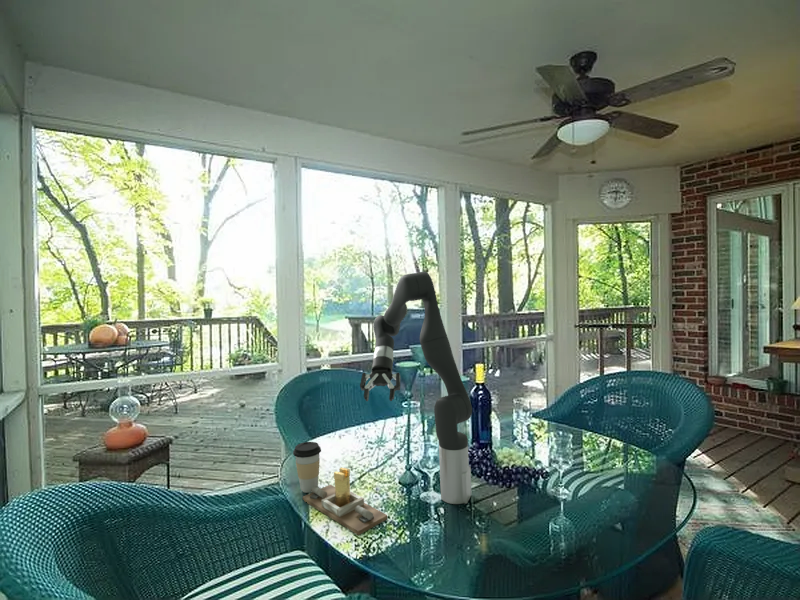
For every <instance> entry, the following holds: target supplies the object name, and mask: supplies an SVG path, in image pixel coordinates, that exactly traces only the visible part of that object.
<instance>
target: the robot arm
mask: <svg viewBox="0 0 800 600" xmlns="http://www.w3.org/2000/svg"><path fill="white" fill-rule="evenodd" d="M420 300H422V303H423V309H424V318H423V321H422V322H423V323H422V325H421V330H420V334H419V343H420V347H421V350H422V354H423V357H424V359H425V361H426V362H427V364H428V365H429V366H430V367H431V369H433V370H434V372H436V374H437V375H438V377H440V378H441V381H442V382H443V384H444V386H445V390H446V392H447V395H444V396H442V397H438V399H436V401H435V403H434V411H433V412H434V424H435V425H434V426H435V434H436V437H437V440H438V454H439V455H438V456H439V460H438V461H439V482H440V498H441V500H442V501H443V502H445V503H446V504H447V503H448V504H451V505H452V504H453V505H460V504H468V502H469V501H470V498H471V497H472V473H471V472H472V470H471V469H472V468H471V466H470V465H469V439H468V436H467V434H465V433H464V432H461V431H458V424H461V423H463V422H466V421H468V420H469V419H471V417H472V414H473V406H472V403H471V399H470V397H469V394H468V391H467V390H466V387H465V385H464V383H463V381H462V378H461V375H460V373H459V369H458V366H457V364H456V360H455V358H454V355H453V351H452V346H451V344H450V341H449V340H450V339H449V337H448V334H447V332H446V329H445V326H444V323H443V320H442V316H441V312H440V308H439V304H438V299H437V294H436V289H435V286H434V282H433V280H432V277H431V275H430V273H428V272H425V271H420V272H415V273H414V272H413V273H406V274H403V275H402V276H401V277H400V278H399V280H398V282H397V284H396V287H395V290H394V294H393V297H392V301H391V303H390V304H389V305H388V307H387V309H386V310H385V312H384V315H378V316H376V317H375V319H374V321H373V332H374V337H375V347H374V350H373V351H374V352H373V357H372V366H371V371H370V373H366V372H362V375H361V379H360V384H359V387H360V390H361V391H363V392H364V393H363V399H364V400H365V402H368V401H369V398H370V391H371V390H372V389H373V388H375V387H386V386H387V387H388V389H389V396H388V399H389V401H390V402H392V401H393V400H394V399H395V394H396V393H395V392H396V391H400V390H401V374H400V372H396V373H393V365H394V350H395V349H394V347H395V340H394V338H393V337H395V336H397V335H398V334H399V333H400V329H401V323H402V321H403V320H404V318H405V317H406V315H407V313H408V306H407V304H406V303H408V302H415V301H420ZM369 379H370V380H369ZM393 379H394V380H395V385H394V384H393V383H392V380H393ZM368 380H369V381H368ZM367 381H368V383H367ZM366 383H367V384H366Z"/></svg>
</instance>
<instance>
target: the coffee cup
mask: <svg viewBox="0 0 800 600" xmlns="http://www.w3.org/2000/svg"><path fill="white" fill-rule="evenodd" d="M292 451H293V452H292V455H293V456H294V458H295V464H296V465H295V466H296V472H297V477H298V481H299V487H300V491H301V490H302V491H303V492H302V491H301V492H302V493H307V494H309V493H312V487H313V486H316V487H318V488H319V476H320V453H321V452H322V449H321V446H320V444H319V443H318V442H317V441H316V442H315V441H304V442H300V443H298V444H296V445H295V446H294V449H293V450H292Z"/></svg>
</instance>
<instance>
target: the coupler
mask: <svg viewBox="0 0 800 600" xmlns="http://www.w3.org/2000/svg"><path fill="white" fill-rule="evenodd" d="M338 470H339V471H334V472H333V479H334V487H335V502H336V505H337V506H338V507H342V506H345V505H347V504H349V503H350V491H351V481H350V480H351V477H350V476H351V471H350V470H351V469H349V468H347V467H346V468H345V467H340V468H339V469H338Z"/></svg>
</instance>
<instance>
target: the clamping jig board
mask: <svg viewBox="0 0 800 600" xmlns="http://www.w3.org/2000/svg"><path fill="white" fill-rule="evenodd" d="M303 500H304V501H303ZM302 501H303V502H305V503H306V502H307V503H306V504H308V505H310V506H311V507H313V508H314V509H316V510H318V511H319V512H320V513H322V514H324V515H326V516H327V517H329V518H330V519H332V520H334V521H335V522H337V523H338V524H340V525H342V526H343V527H345V528H346V529H348V530H349V531H351V532H353V533H354V534H356V535H357V536H360V535H361V534H363V533H366V532H367V531H369V530H370V529H372V528H374V527H376V526H378V525H379V524H381V523H383V522H384V521H387V520H388V514H386V513H384V512H383V511H380V510H379V509H377V508H374V507H373V506H371V505H370V504H367V503H366V502H365V498H364V497H362V496H360V495H358V494H356V493H354V492H353V491H351V490H350V503H349V504H347V505H345V506H342V507H338V506H337V505H336V502H335V485H332V484H329V485H326V486H324V487H321V488H320V487H319V486H318V487H316V486H313V487H312V492H309V493H307V494H306V495H303V496H302Z"/></svg>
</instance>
